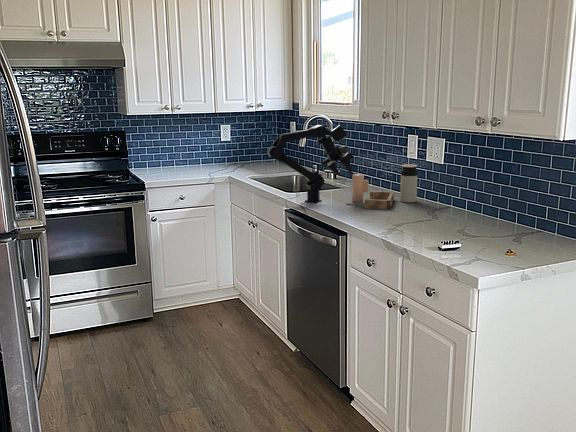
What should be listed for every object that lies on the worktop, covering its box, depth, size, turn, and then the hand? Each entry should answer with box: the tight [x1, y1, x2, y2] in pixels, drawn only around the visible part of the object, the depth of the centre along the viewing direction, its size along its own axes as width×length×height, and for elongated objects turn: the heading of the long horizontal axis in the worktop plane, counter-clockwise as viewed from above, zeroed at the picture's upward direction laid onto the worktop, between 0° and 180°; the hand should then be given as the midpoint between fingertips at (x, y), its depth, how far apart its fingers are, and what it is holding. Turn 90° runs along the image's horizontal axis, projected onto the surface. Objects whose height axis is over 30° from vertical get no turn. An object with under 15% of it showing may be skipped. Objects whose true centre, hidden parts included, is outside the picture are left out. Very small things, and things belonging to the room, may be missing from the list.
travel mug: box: [399, 163, 419, 204], centre depth 280 cm, size 8×8×18 cm
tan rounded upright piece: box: [351, 173, 370, 203], centre depth 278 cm, size 8×6×14 cm
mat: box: [346, 199, 365, 206], centre depth 280 cm, size 10×10×1 cm
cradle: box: [364, 190, 395, 210], centre depth 277 cm, size 12×23×4 cm, turn 165°
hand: (344, 173), depth 287 cm, fingers open, 9 cm apart
